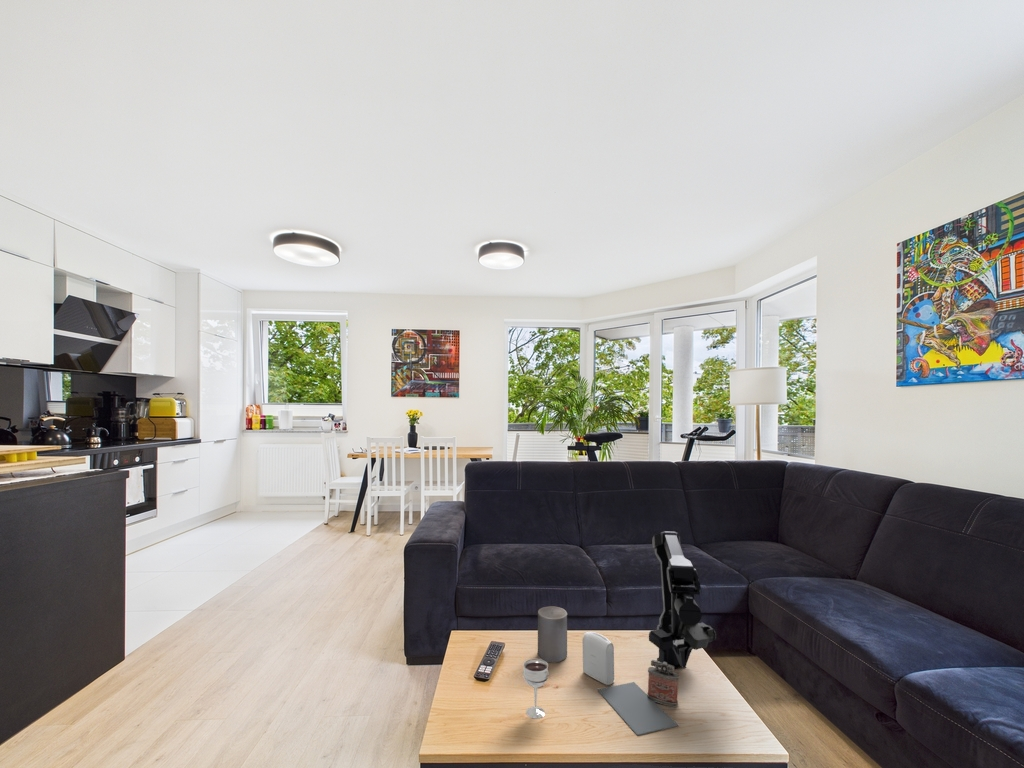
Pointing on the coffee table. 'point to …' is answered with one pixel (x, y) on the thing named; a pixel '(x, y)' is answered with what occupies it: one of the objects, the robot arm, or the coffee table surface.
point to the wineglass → (535, 682)
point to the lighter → (663, 684)
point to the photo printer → (598, 657)
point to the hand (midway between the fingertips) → (683, 666)
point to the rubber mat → (637, 708)
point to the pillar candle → (552, 634)
